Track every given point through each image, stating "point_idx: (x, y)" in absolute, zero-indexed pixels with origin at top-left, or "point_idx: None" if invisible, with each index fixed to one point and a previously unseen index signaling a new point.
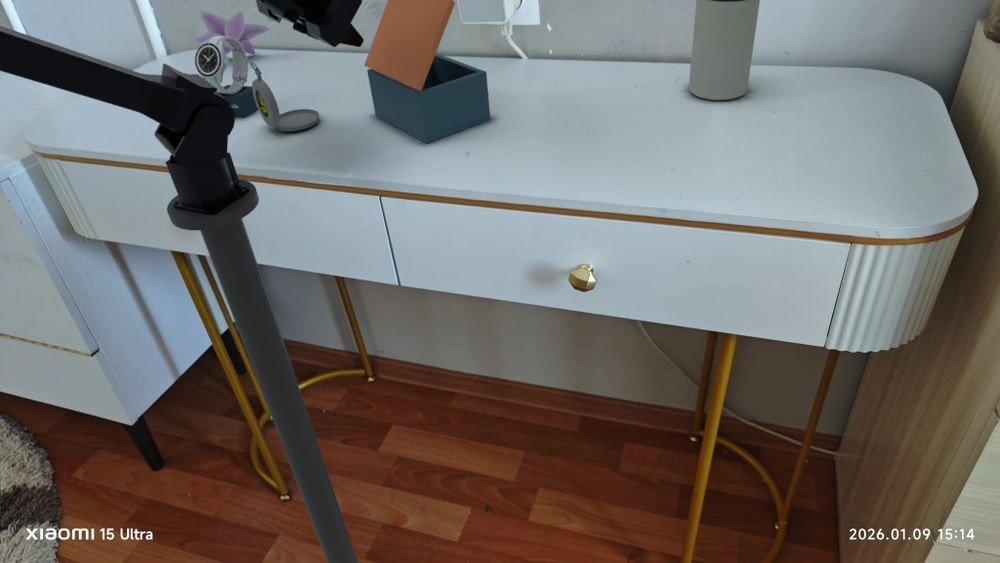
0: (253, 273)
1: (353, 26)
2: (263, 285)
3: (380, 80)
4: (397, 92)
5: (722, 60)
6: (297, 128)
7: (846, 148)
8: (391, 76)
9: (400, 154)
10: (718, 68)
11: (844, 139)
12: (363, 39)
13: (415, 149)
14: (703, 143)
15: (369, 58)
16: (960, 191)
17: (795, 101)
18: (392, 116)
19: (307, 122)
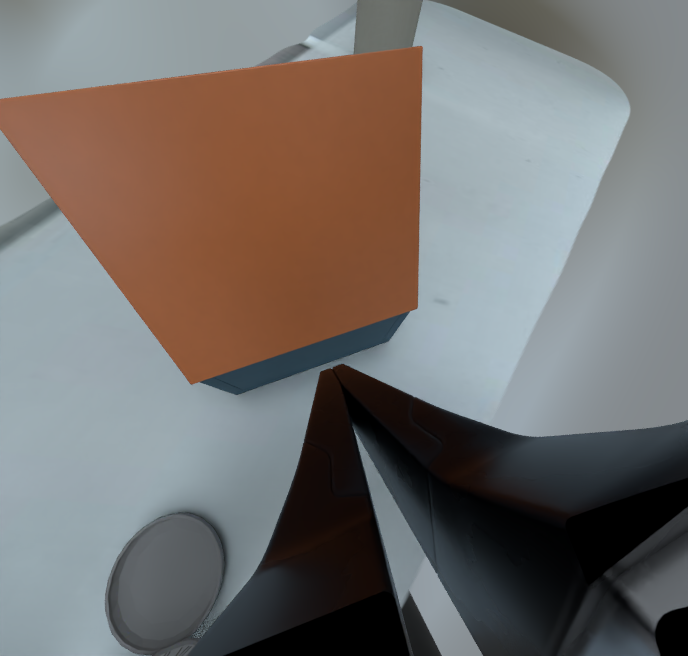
0: (426, 629)
1: (389, 386)
2: (405, 603)
3: (262, 362)
4: (329, 342)
5: (415, 25)
6: (222, 575)
7: (517, 71)
8: (322, 338)
9: (409, 383)
10: (411, 38)
11: (502, 65)
12: (343, 364)
13: (400, 359)
14: (483, 124)
15: (194, 364)
16: (587, 66)
17: (425, 51)
18: (297, 369)
19: (185, 544)
